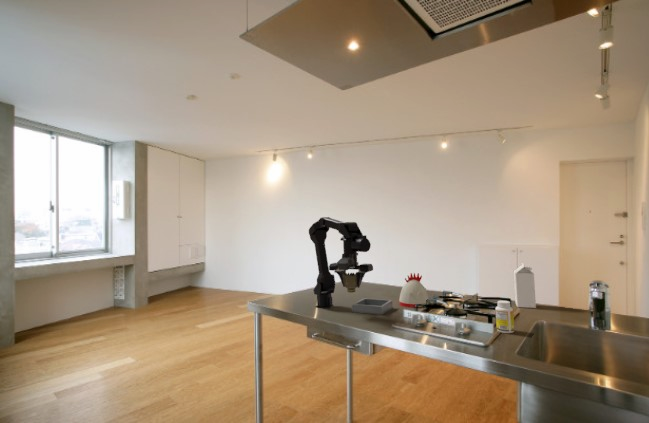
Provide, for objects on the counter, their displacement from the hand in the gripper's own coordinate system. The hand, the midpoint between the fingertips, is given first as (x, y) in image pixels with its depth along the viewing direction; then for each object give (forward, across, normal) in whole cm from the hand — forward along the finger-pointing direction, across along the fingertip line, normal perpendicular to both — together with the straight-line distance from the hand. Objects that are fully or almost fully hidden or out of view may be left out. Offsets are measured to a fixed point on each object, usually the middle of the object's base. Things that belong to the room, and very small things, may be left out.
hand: (351, 287), depth 151 cm
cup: (+2, 0, 0) cm, 2 cm away
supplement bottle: (+12, +59, +1) cm, 60 cm away
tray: (+12, +5, +12) cm, 17 cm away
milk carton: (+12, +64, +44) cm, 79 cm away
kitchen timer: (+12, +18, +30) cm, 37 cm away
